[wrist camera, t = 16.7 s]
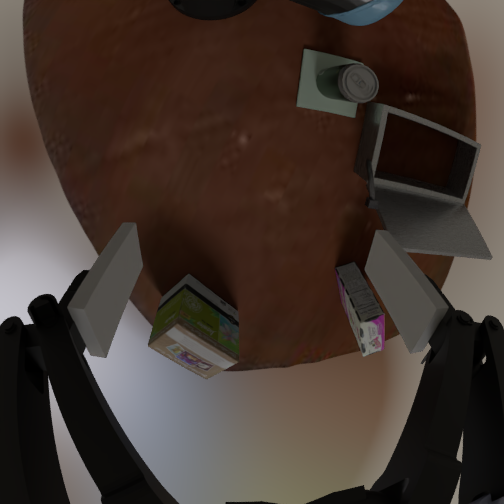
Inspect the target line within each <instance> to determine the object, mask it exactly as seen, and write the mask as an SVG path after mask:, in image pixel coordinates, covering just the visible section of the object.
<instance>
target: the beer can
mask: <svg viewBox="0 0 504 504" xmlns="http://www.w3.org/2000/svg"><path fill="white" fill-rule="evenodd" d="M316 86H317V88H318V90H319V92H320V93H321V94H322V95H323V96H325V97H326V98H330V99H335V100H341V101H348V102H353V103H364V102H367V101H370V100H371V99H373V98H374V97H375V96H376V94H377V92H378V88H379V83H378V79H377V76H376V75H375V73H374V72H373V71H372V70H371V69H370V68H369V67H367V66H364V65H362V64H358V63H351V64H345V65H339V66H334V67H329V68H326V69H323V70H322V71H320V72H319V74H318V75H317V79H316Z"/></svg>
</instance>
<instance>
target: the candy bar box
mask: <svg viewBox="0 0 504 504" xmlns="http://www.w3.org/2000/svg"><path fill="white" fill-rule="evenodd" d="M335 272H336V277H337V282H338V287H339V292H340V298H341V303H342V305H343V308H344V310H345V312H346V315H347V317H348V320H349V322H350V324H351V327H352V329H353V332H354V335H355V337H356V339H357V342H358V345H359V347H360V350H361V352H362V355H363V357H364V356H367V355H370V354H373V353H375V352H377V351H381V350H383V349H384V347H385V346H384V343H385V341H384V338H385V314H384V312H383V310H382V308H381V307H380V305H379V303H378V301H377V299H376V297H375V296H374V294H373V292H372V290H371V289H370V287H369V285H368V283H367V282H366V280H365V278H364V276H363V275H362V273H361V271H360V270H359V268H358V266H357V264H356V263H355V262H351V263H348V264H346V265H343V266H339V267H336V268H335Z"/></svg>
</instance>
